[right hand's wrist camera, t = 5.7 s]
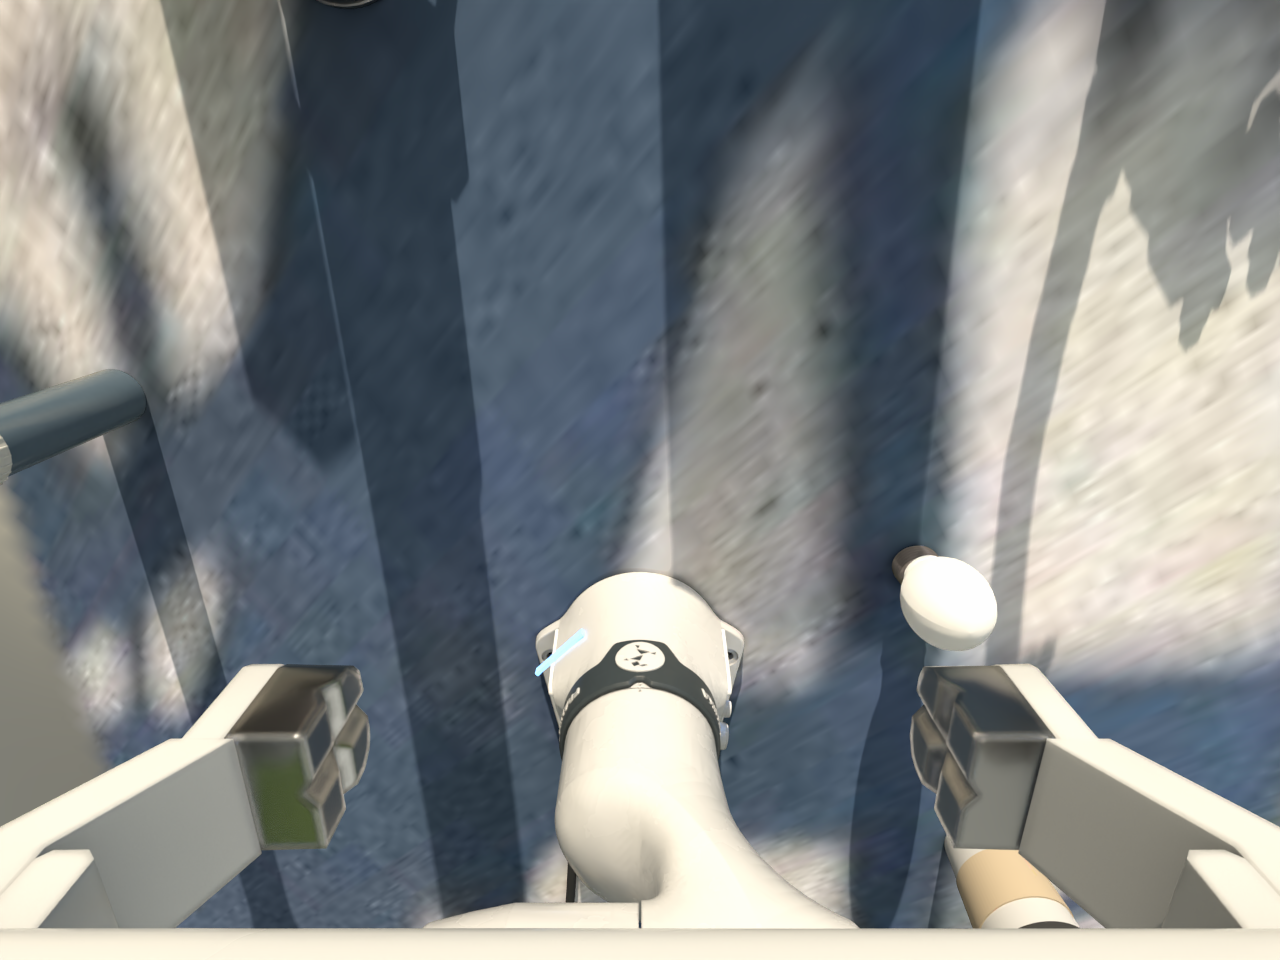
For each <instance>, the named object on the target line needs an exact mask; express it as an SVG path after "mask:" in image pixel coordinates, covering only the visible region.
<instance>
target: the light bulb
mask: <svg viewBox="0 0 1280 960" xmlns="http://www.w3.org/2000/svg"><path fill="white" fill-rule="evenodd" d="M892 571H893V574H894V575H895V577H896V578H897V580H898V581H899V583H900V584H901V591H900V602H901V608H902V611H903V614H904V616H905V618H906V621H907V622H908V624H909V625H910V627H911V628H912V629H913V630H914V632H915V633H916V634H917V635H918V636H919V637H921V638H922V639H923V640H925V641H926V642H928V643H929V644H931V645H933V646H935V647H938V648H941V649H943V650H949V651H964V650H969V649H972V648H975V647H976V646H978V645H980V644H981V643H983V642H984V641H985V640H986V639H987V638H988V637H989V636H990V634H991V633H992V631H993V629H994V626H995V624H996V620H997V603H996V599H995V596H994V593H993V591H992V589H991V587H990V585H989V584H988V582H987V581H986V579H985V578H984V577H983V576H982V575H981V574H980V573H979V572H978V571H977V570H976V569H974V568H973V567H971V566H970V565H968V564H966V563H964V562H962V561H960V560H957V559H953V558H948V557H939V556H938V555H937V554H936V553H935V552H934V551H933V550H932V549H930V548H928V547H924V546H912V547H908V548H906V549H904V550H902V551H901V552H899V553H898V554H897V555H896V557H895V558H894V560H893V563H892Z"/></svg>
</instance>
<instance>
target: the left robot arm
mask: <svg viewBox="0 0 1280 960" xmlns="http://www.w3.org/2000/svg"><path fill="white" fill-rule="evenodd" d="M316 1H318V2H320V3H323V4H325V5H328V6H331V7H336V8H343V9H354V8H360V7H364V6H367V5H370V4H372V3H374V2H376V1H378V0H316Z"/></svg>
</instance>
